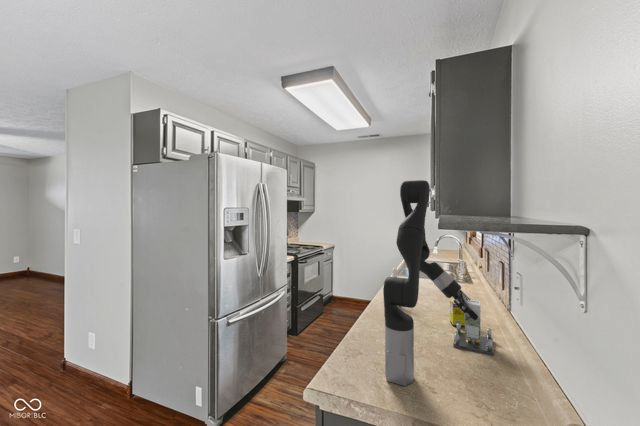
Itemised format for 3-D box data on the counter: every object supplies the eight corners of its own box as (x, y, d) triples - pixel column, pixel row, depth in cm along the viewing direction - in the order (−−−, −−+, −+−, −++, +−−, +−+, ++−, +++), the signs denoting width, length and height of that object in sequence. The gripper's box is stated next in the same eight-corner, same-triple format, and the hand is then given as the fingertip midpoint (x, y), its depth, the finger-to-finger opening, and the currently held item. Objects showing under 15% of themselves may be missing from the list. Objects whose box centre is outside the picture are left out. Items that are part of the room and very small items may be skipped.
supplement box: (466, 327, 133) (466, 304, 133) (452, 326, 134) (452, 303, 134) (462, 322, 139) (462, 300, 139) (449, 321, 140) (449, 299, 140)
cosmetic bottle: (390, 306, 162) (390, 268, 162) (389, 303, 168) (389, 266, 168) (401, 307, 161) (400, 269, 161) (399, 303, 167) (399, 266, 167)
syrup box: (480, 335, 118) (480, 300, 118) (480, 340, 113) (480, 304, 113) (465, 332, 121) (465, 298, 120) (464, 337, 116) (464, 302, 115)
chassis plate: (493, 355, 107) (493, 342, 107) (453, 347, 114) (453, 334, 114) (492, 340, 119) (492, 328, 119) (455, 333, 126) (455, 322, 126)
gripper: (451, 282, 114) (484, 315, 108) (454, 275, 126) (484, 304, 121) (437, 293, 117) (469, 326, 111) (441, 285, 129) (470, 315, 124)
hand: (476, 315), depth 116 cm, fingers open, 8 cm apart
